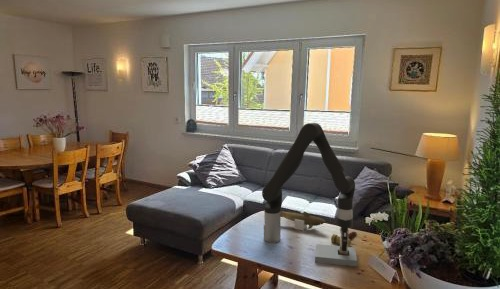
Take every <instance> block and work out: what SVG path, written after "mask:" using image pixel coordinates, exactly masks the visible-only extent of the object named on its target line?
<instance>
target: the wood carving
mask: <svg viewBox="0 0 500 289" xmlns="http://www.w3.org/2000/svg"><path fill="white" fill-rule="evenodd" d="M280 218H284V219H287V220H289V221H292V222H294V229H295V230H298V231H300V230H301V231H305V230H306V229H308V230H310V229H312V228H313V227H317V226H321V225H324V224H325V222H326V219H324V218H322V217H318V216H314V215H310V214H309V213H308V212H307V211H303V214H302V213H297V212H293V211H292V210H289V211H284V210H281V209H280Z"/></svg>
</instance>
